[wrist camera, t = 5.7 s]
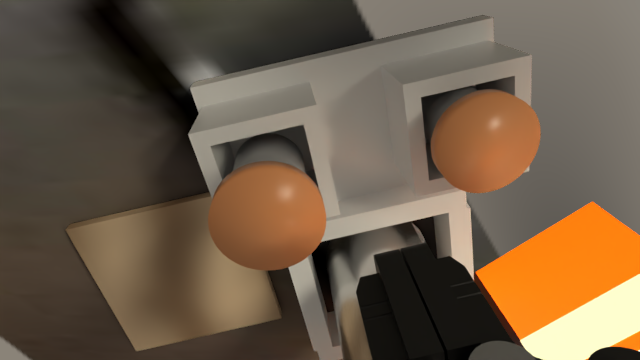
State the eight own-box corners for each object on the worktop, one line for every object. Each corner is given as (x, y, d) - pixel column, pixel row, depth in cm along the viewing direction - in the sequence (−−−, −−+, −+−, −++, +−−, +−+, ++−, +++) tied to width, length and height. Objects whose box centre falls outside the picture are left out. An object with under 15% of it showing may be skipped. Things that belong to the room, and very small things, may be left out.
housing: (482, 14, 21) (539, 27, 17) (490, 288, 30) (530, 347, 25) (194, 82, 22) (172, 113, 17) (282, 336, 30) (283, 403, 25)
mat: (239, 185, 24) (238, 189, 24) (281, 311, 29) (281, 318, 28) (69, 224, 24) (65, 229, 24) (138, 344, 29) (136, 351, 28)
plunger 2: (483, 58, 20) (542, 83, 16) (486, 138, 22) (538, 180, 18) (398, 78, 20) (433, 108, 16) (408, 156, 22) (441, 202, 18)
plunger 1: (303, 112, 19) (312, 158, 14) (322, 194, 21) (336, 256, 16) (210, 134, 19) (190, 186, 14) (238, 213, 21) (228, 281, 16)
